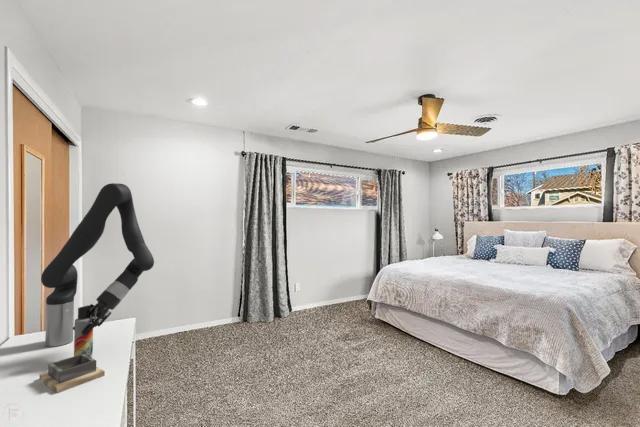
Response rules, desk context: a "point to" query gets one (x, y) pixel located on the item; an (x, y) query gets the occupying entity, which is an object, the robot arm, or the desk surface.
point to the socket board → (71, 372)
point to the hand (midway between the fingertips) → (79, 332)
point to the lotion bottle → (81, 341)
